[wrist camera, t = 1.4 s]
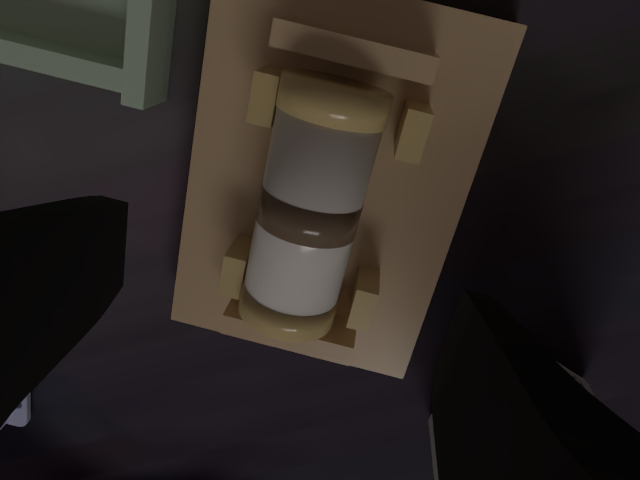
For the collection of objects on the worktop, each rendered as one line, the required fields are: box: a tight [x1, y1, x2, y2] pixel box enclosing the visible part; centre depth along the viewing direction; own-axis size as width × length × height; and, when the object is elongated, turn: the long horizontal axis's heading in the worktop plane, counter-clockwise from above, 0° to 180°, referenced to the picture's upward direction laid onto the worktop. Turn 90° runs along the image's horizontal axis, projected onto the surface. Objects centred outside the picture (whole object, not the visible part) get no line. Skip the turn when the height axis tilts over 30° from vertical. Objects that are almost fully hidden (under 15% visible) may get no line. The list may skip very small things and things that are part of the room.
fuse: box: [238, 68, 394, 342], centre depth 18 cm, size 8×4×4 cm, turn 168°
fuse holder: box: [171, 0, 527, 379], centre depth 20 cm, size 14×10×4 cm
